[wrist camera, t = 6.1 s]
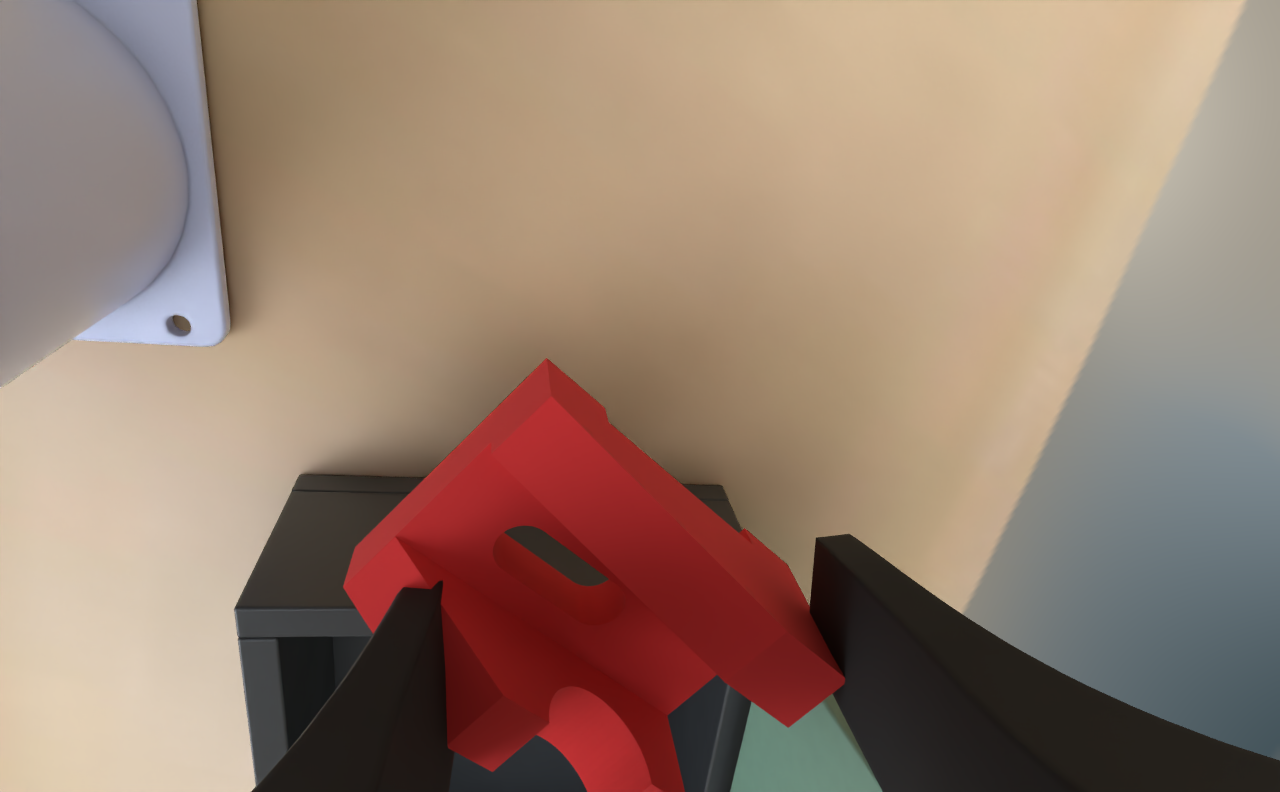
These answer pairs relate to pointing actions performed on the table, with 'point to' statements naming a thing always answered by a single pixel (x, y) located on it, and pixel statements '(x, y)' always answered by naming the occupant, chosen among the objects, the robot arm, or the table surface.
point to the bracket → (587, 594)
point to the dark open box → (336, 634)
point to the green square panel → (802, 754)
